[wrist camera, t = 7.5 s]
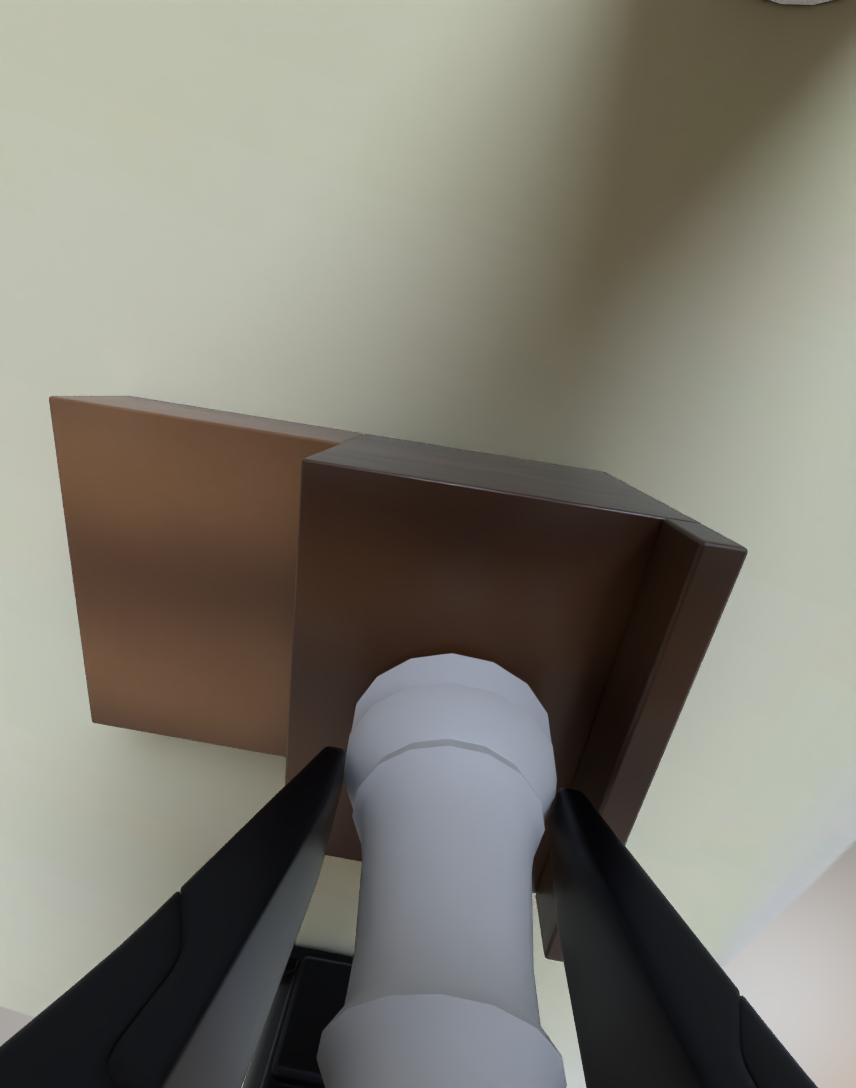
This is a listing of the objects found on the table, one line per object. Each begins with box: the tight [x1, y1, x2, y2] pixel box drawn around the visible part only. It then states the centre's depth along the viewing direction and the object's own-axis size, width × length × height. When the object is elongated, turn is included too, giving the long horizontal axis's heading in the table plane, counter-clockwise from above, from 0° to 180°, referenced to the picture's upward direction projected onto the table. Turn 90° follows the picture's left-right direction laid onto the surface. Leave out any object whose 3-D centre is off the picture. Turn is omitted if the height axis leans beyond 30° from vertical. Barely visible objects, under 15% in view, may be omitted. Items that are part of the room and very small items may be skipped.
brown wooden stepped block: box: [49, 396, 747, 962], centre depth 13 cm, size 11×16×8 cm
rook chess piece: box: [316, 653, 567, 1088], centre depth 6 cm, size 4×4×8 cm
